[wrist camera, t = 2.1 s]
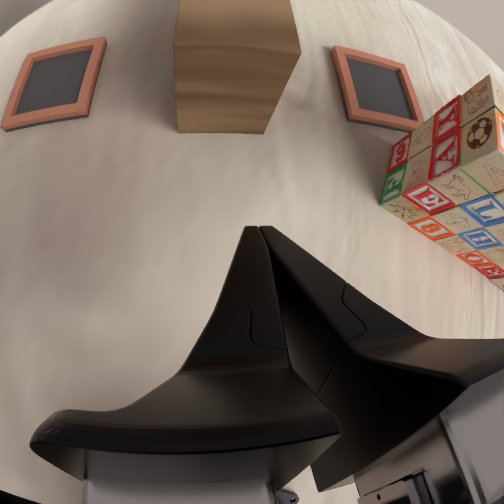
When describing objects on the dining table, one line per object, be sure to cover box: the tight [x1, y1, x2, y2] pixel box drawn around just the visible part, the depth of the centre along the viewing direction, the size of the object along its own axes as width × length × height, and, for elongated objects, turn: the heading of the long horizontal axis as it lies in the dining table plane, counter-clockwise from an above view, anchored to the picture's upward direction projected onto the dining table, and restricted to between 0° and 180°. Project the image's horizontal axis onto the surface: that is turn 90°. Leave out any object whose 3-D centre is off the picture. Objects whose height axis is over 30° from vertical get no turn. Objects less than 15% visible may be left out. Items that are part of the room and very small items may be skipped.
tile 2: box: [331, 45, 424, 133], centre depth 23 cm, size 8×8×1 cm
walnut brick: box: [173, 0, 301, 134], centre depth 17 cm, size 14×6×9 cm, turn 3°
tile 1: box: [1, 37, 107, 132], centre depth 18 cm, size 8×8×1 cm
